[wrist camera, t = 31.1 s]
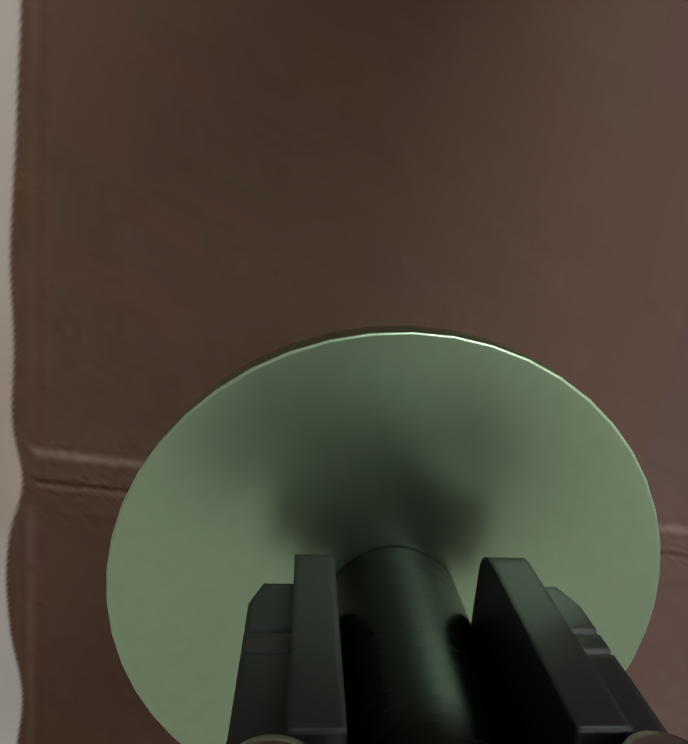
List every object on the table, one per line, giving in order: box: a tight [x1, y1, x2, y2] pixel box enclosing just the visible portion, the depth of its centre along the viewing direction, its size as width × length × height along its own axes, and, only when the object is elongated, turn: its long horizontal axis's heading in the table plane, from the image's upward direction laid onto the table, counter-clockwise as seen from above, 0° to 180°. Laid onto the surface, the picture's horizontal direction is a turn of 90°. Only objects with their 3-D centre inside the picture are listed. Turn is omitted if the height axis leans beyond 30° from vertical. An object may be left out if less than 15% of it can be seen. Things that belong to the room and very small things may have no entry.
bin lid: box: [106, 326, 660, 744], centre depth 9 cm, size 12×12×7 cm
